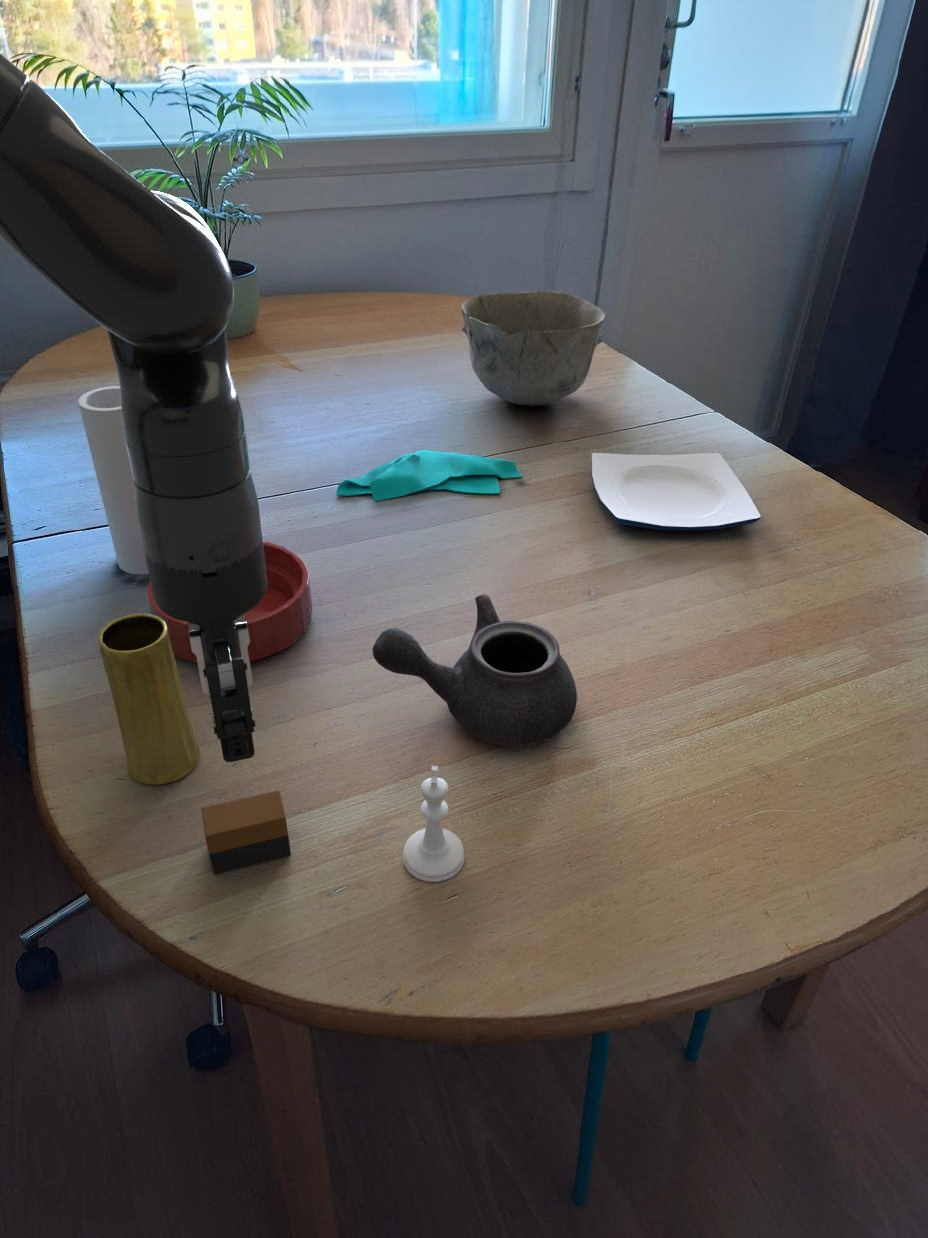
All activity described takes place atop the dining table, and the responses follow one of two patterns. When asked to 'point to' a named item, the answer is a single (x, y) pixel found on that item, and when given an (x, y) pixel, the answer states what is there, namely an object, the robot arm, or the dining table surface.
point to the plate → (672, 491)
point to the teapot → (494, 678)
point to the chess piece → (433, 837)
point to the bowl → (531, 343)
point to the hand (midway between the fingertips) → (232, 718)
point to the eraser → (246, 831)
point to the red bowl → (261, 608)
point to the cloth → (431, 475)
